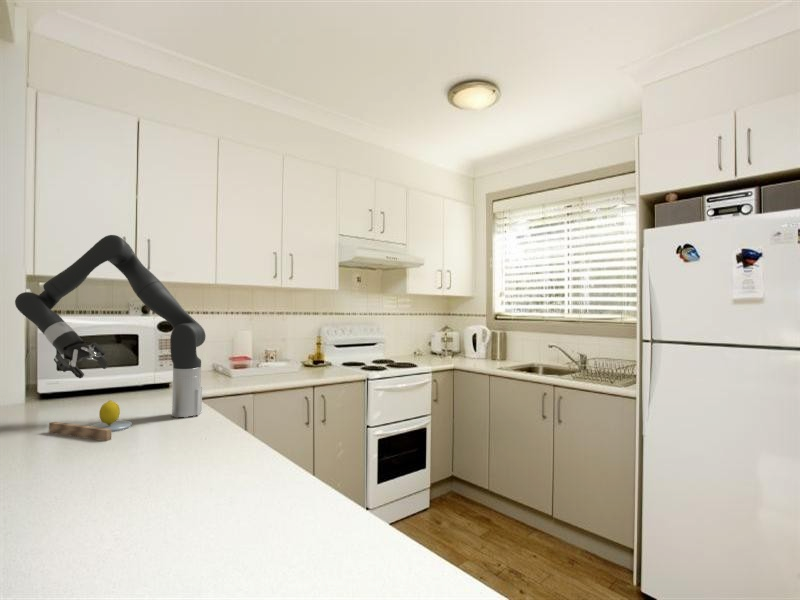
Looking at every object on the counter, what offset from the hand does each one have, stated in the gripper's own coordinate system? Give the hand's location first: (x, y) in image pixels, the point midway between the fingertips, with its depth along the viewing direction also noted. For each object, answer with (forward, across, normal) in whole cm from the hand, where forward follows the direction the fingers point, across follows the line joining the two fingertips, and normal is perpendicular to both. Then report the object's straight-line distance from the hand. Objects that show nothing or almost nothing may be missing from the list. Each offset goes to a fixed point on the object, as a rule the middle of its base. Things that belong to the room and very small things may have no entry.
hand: (94, 371), depth 152 cm
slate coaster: (+20, -8, +1) cm, 22 cm away
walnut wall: (+18, -18, -1) cm, 25 cm away
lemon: (+19, -8, +1) cm, 21 cm away
